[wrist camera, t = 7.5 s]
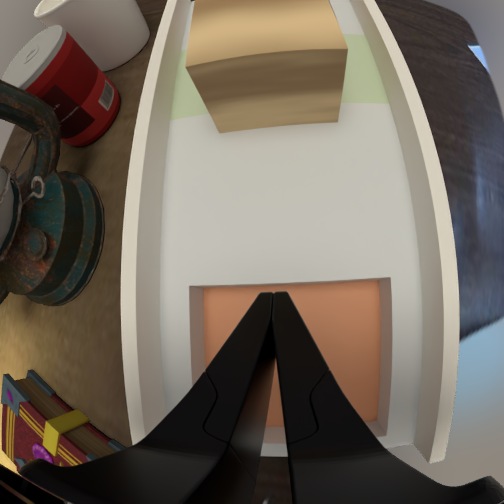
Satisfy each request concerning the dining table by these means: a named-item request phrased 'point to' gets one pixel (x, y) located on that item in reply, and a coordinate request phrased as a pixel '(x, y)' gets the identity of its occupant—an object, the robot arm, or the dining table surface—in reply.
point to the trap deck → (293, 240)
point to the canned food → (66, 84)
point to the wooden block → (267, 62)
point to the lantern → (45, 212)
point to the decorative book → (47, 426)
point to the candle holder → (99, 27)
